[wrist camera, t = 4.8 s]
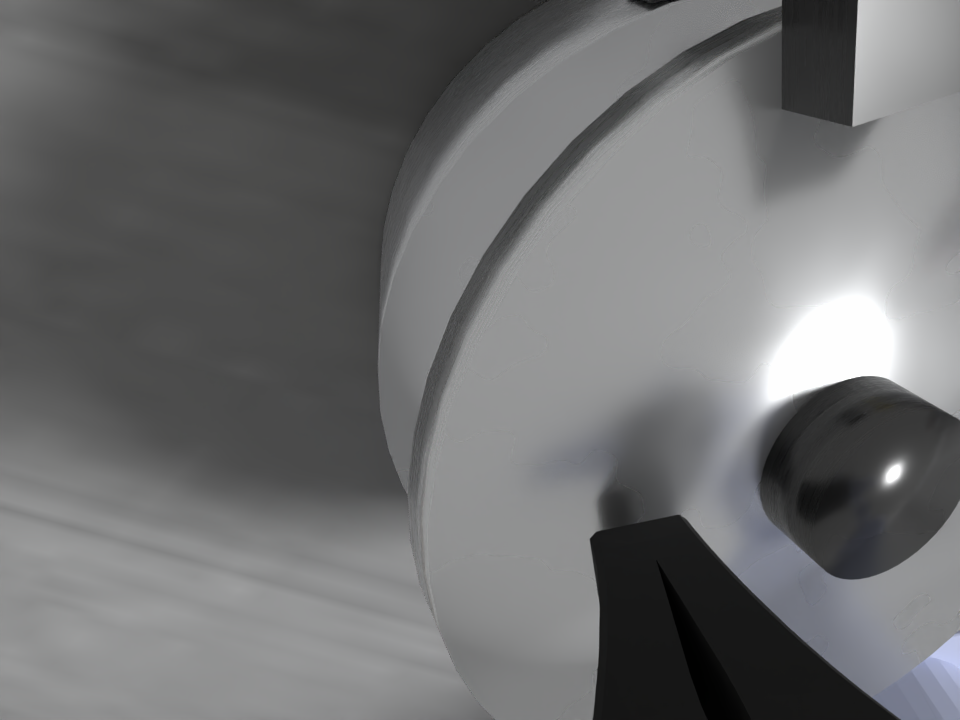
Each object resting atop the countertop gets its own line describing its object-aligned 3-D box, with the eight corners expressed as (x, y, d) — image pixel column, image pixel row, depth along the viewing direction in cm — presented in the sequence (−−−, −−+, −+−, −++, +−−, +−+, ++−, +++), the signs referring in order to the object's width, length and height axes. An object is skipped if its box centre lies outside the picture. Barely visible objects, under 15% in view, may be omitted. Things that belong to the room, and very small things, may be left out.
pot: (922, 441, 24) (1042, 564, 19) (446, 539, 24) (459, 683, 19) (1047, -701, 13) (1392, -1011, 8) (158, -503, 13) (40, -705, 8)
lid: (1042, 564, 19) (1137, 629, 17) (497, 835, 16) (543, 949, 14) (1356, -852, 9) (1678, -1065, 7) (-22, -841, 6) (-99, -1219, 4)
